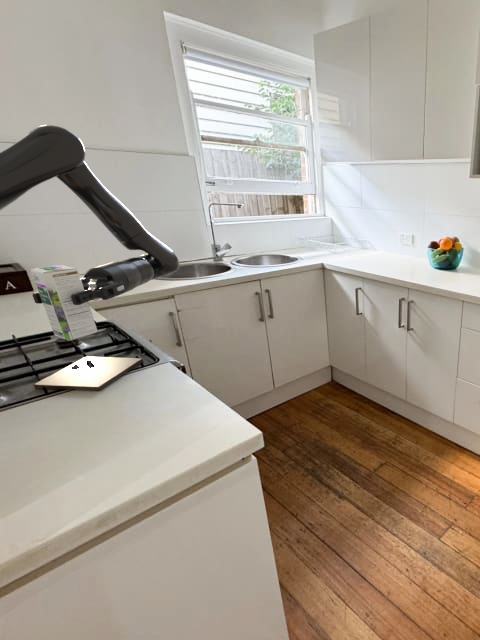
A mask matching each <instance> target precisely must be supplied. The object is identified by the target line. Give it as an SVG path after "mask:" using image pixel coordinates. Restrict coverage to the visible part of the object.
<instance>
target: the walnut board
mask: <svg viewBox="0 0 480 640" xmlns="http://www.w3.org/2000/svg"><path fill="white" fill-rule="evenodd" d="M87 361H91V363H92V364H93V365H94V367H91V368H90V367H89V366H88V365H87ZM142 363H144V359H143V358H141V357H119V356H118V357H114V356H84V357H82V358H81V359H78V360H76V361H75V362H73V363H71V364H69V365H68V366H65V367H64V368H62V369H60V370H58V371H56V372H54V373H52V374H50V375H48V376H47V377H45V378H43V379H40V380H39V381H38V382H36V383H34V384H33V388H34V389H35V390H44V389H43V386H44V387H45V388H46V389H45V390H58V391H59V390H60V389H75V390H74V391H86V390H87V391H88V390H89V392H91V391H92V392H100V391H103V390H104V389H105V388H107V387H109V385H111V384H113V383H114V382H116V381H117V380H119V379H120V378H121V377H123V376H125V375H126V374H127V373H129V372H130V371H132V370H134V369H135V368H137V367H138V366H140V365H141V364H142ZM75 365H77V366H78V367H79V368H77V369H72V367H74V366H75ZM128 371H129V372H128ZM126 372H127V373H126ZM125 373H126V374H125Z"/></svg>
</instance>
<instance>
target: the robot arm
mask: <svg viewBox="0 0 480 640" xmlns="http://www.w3.org/2000/svg"><path fill="white" fill-rule="evenodd" d="M85 160H86V149H85V146H84V143H83V141H82V140H81V138H79V137H78V135H76V134H75V133H74V132H72V131H71V130H69V129H67V128H65V127H62V126H59V125H54V124H44V125H39V126H36V127H35V128H33V129H32V130H31V131H29V132H28V134H27V135H26V136H24V137H23V138H21V139H20V140H19V141H17V142H16V143H14V144H13V145H11V146H10V147H9V146H8V148H6V149H4V150H2V151H1V152H0V212H1V211H2V210H4V209H6V208H7V207H9V206H10V205H12V204H13V203H14V202H15V201H17V200H19V198H21V197H22V196H23V195H24V194H26V193H27V192H29V191H30V190H32V189H34V188H35V187H37V186H38V185H40V184H42V183H45V182H47V181H49V180H51V179H54V178H57V179H58V180H59V181H60V182H61V183H63V184H64V185H65V186H66V187H67V188H68V189H69V190H70V191H71V192H73V193H74V194H75V195H76V197H77V198H79V199H80V200H81V201H82V203H84V205H85V206H86V207H87V208H88V209H89V210H90V211H91V212H92V213H93V214H94V216H95V217H96V218H97V219H98V220H99V221H100V223H101V224H102V225H103V226H104V227H105V228H106V229H107V230H108V231H109V233H110V234H111V235H112V236H113V237H114V238H115V240H117V241H118V242H119V243H120V244H121V245H122V247H124V248H125V249H126V250H128V251H142V252H144V254H141V255H138V256H135V257H128V258H126V259H122V260H116V261H112V262H108V263H104V264H101V265H97V266H94V267H91V268H89V269H87V270H86V272H85V273H84V275H83V277H80V278H81V281H82V284H83V287H84V291H81V292H78V293H75V294H72V295H71V299H72V302H73V304H74V305H80V304H83V303H86V302H88V303H89V302H91V301H95V302H97V301H98V300H100V299H101V300H102V301H107V300H110V299H113V298H116V297H118V296H120V295H123V294H125V293H128V292H130V291H133V290H135V289H136V288H138V287H140V286H142V285H145V284H148V283H149V282H150V281H153V280H157V279H159V278H163V277H164V276H168V275H171V274H173V273H176V272H178V270H179V269H180V259H179V257H178V256H177V254H176V253H175V252H174V251H173V250H172V248H170V247H168V246H167V244H165V243H163V242H162V241H160V240H159V239H158V238H156V237H155V236H154V235H153V234H151V233H150V232H149V231H148V230H147V228H145V226H143V224H142V223H141V222H140V220H139V219H138V218H137V217H136V216H135V215H134V214H133V213H132V212H131V211H130V209H129V208H128V207H126V205H124V204H123V203H122V202H121V201H120V200H119V199H118V198H117V197H116V196H115V195H114V194H112V193H111V191H110V190H108V188H106V186H104V185H103V184H102V182H101V181H100V180H99V179H98V178H97V177H96V175H95V174H94V173H93V172H92V170H91V169H90V167H89V166H88V164H87V163H86V161H85ZM32 298H33V301H34V303H35V304H43V303H42V300H41V297H40V295H39V292H38V291H36V292H33V293H32Z"/></svg>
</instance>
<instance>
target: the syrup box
mask: <svg viewBox="0 0 480 640" xmlns="http://www.w3.org/2000/svg"><path fill="white" fill-rule="evenodd" d="M30 273H31V275H32V278H33V280H34V283H35V286H36V289H37V292H39V295H40V297H41V300H42V303H41V304H42V305H43V308H44V312H45V314H46V317H47V319H48V322H49V325H50V327H51V329H52V332H53V334H54V337H58V338H60V339H63V340H66V341H68V342H70V341H74V340H77V339H80V338H84V337H87V336H89V335H93V334H96V333H98V332H99V331H98V328H97V325H96V321H95V319H94V316H93V312H92V308H91V305H90V304H89V301H88V302H86V303H83V304H80V305H74V304H73V302H72V299H71V295H72V294H75V293H78V292H81V291H84V287H83V284H82V281H81V278H82V277H81V275H80V273H79V269H78V268H77V267H71V266H67V265H64V264H56V265H46V266H41V267H35V268H31V269H30Z"/></svg>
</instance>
